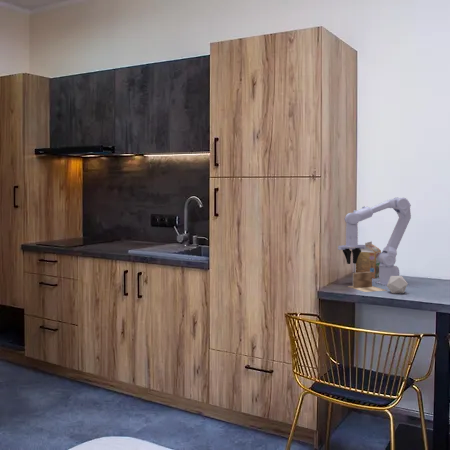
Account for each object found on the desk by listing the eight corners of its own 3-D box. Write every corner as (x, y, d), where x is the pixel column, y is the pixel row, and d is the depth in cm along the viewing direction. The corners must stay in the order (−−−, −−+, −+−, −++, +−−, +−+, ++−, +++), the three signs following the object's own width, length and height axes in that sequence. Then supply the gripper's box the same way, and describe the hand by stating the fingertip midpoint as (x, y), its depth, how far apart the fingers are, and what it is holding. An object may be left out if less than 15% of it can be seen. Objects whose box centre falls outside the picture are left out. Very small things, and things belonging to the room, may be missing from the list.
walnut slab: (369, 286, 266) (369, 271, 265) (371, 286, 264) (371, 272, 263) (352, 287, 263) (352, 272, 263) (355, 287, 261) (355, 273, 260)
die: (404, 296, 242) (413, 278, 245) (386, 287, 244) (395, 269, 246) (398, 299, 250) (407, 282, 253) (381, 290, 251) (390, 273, 254)
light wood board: (368, 285, 269) (368, 284, 269) (387, 290, 254) (387, 290, 254) (347, 286, 265) (347, 286, 265) (365, 292, 250) (365, 292, 250)
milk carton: (374, 278, 289) (374, 243, 288) (355, 277, 295) (355, 242, 294) (380, 276, 298) (381, 241, 297) (362, 274, 304) (362, 241, 302)
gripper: (360, 235, 277) (360, 261, 278) (335, 236, 273) (334, 263, 274) (367, 236, 271) (367, 263, 272) (342, 237, 266) (341, 265, 267)
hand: (351, 263), depth 272 cm, fingers open, 3 cm apart
